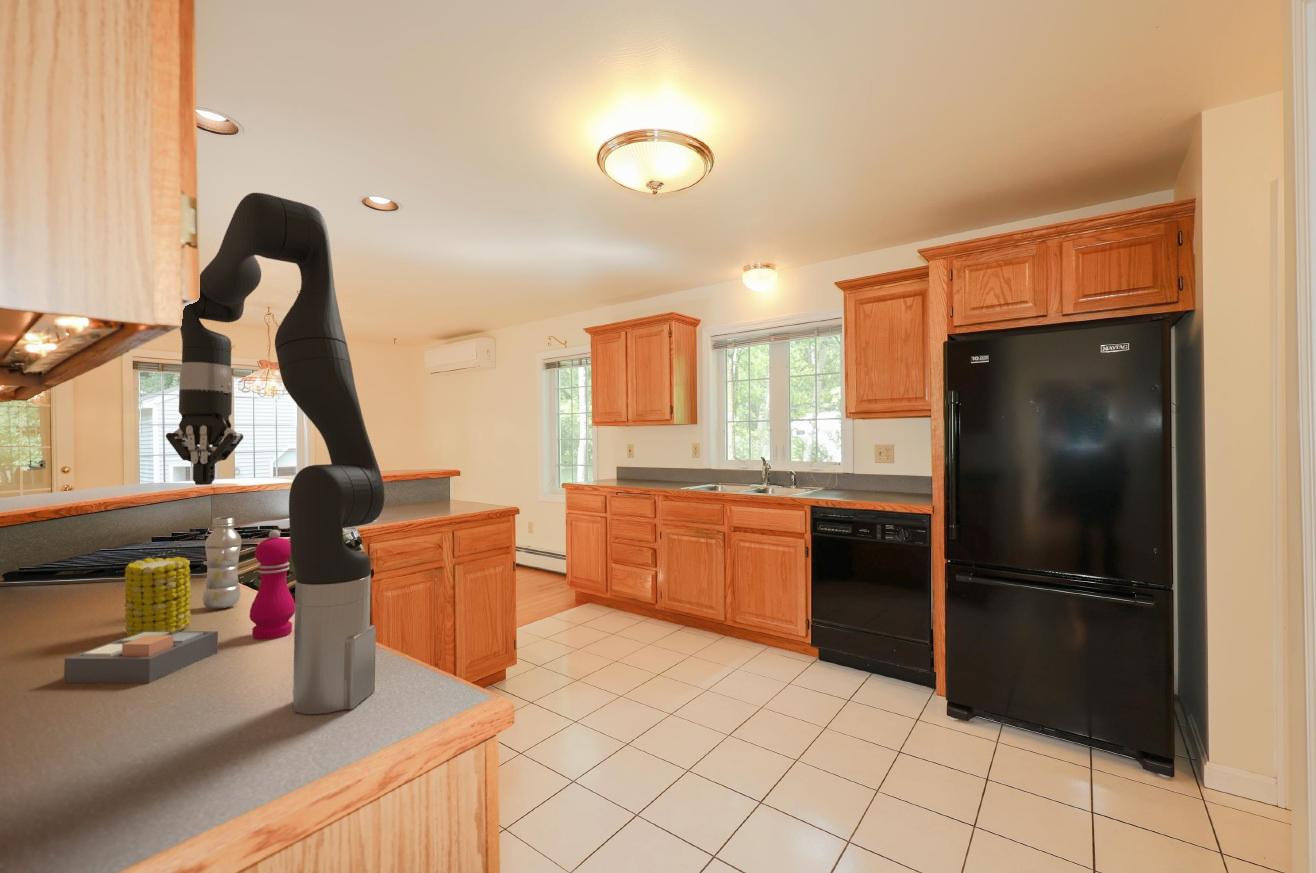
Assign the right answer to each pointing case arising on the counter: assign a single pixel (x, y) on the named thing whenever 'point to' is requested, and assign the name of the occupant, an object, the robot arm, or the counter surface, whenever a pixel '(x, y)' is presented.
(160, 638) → the key
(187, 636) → the key
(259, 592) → the pepper mill
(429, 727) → the counter surface
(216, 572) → the plastic bottle
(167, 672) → the keypad
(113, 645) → the key
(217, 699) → the counter surface
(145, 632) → the key
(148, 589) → the food
